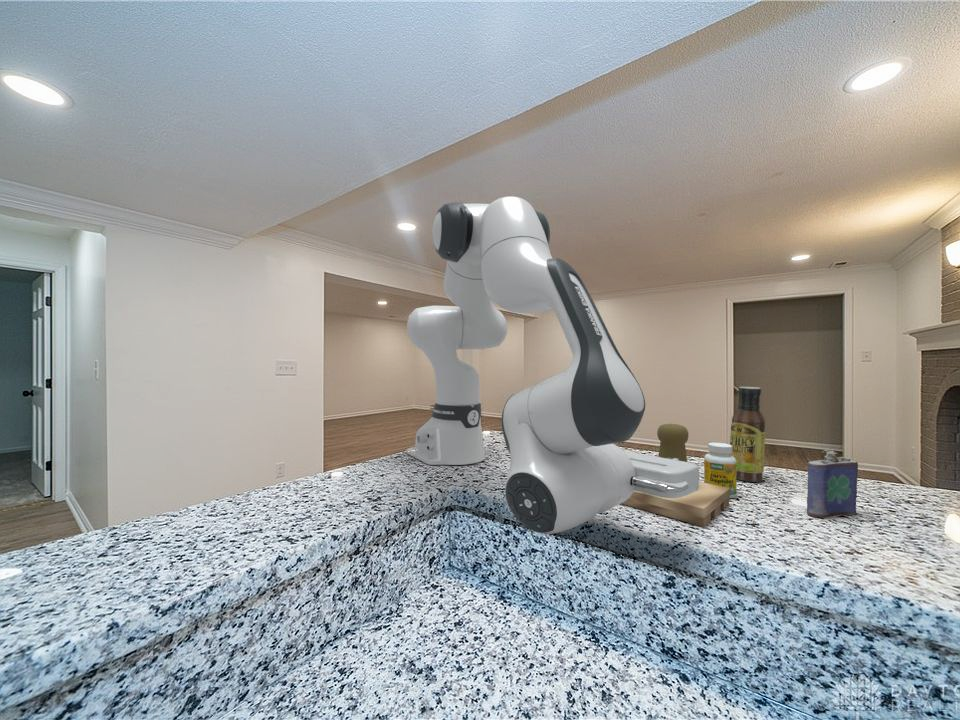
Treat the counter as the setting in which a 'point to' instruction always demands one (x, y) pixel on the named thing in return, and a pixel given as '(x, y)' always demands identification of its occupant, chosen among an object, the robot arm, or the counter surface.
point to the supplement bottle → (720, 467)
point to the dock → (685, 504)
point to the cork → (672, 441)
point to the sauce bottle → (748, 436)
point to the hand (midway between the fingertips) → (644, 457)
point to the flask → (832, 486)
